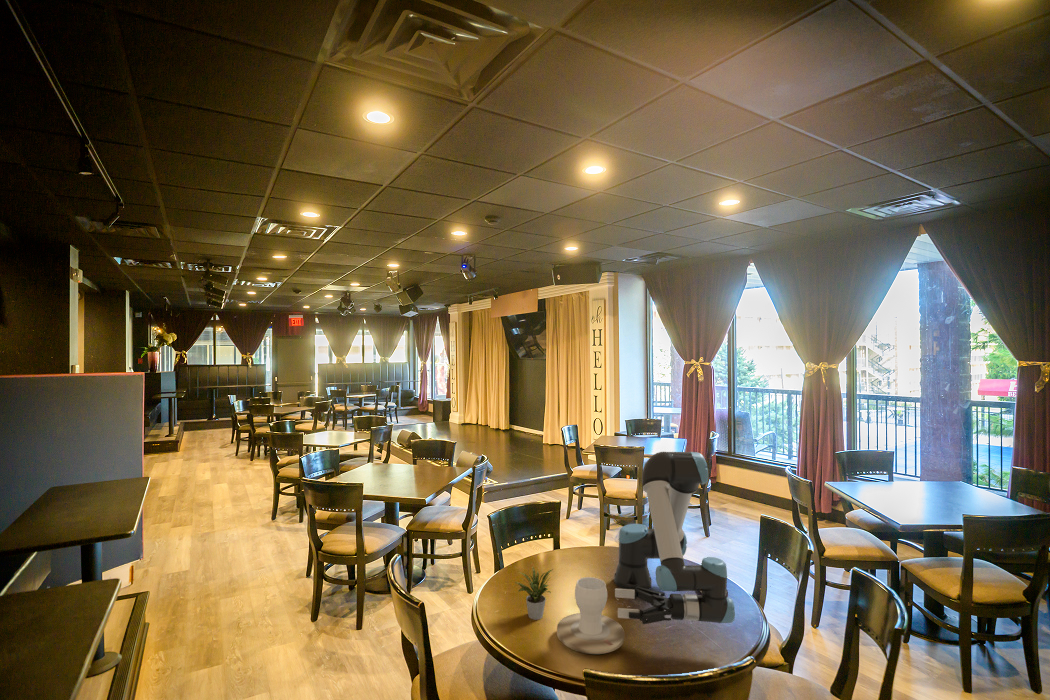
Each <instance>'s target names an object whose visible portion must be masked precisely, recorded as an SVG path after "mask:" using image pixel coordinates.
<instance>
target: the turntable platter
mask: <svg viewBox="0 0 1050 700" xmlns="http://www.w3.org/2000/svg"><path fill="white" fill-rule="evenodd" d="M579 622H580V612H578V613H573V614H569V615H566V616H565V617H563V618H561V619H560V620H559V622H558V623H557V625H556V636H557V638H558V640H559V641H560V642H561V643H562V644H563V645H564V646H565V647H567V648H569V649H571V650H572V651H575V650H576V652H578V651H579V652H578V653H580V652H582V653H581V654H584V653H588V654H587V655H590V654H599V655H602V654H603V653H604V654H608V653H611V652H614V651H616V650H618V649H620V648H621V646H622V645H624V642H625V631H624V628H623V627H622V625H621V623H619V622H618V621H616V620H614V619H613V618H611V617H609V616H606V615H603V614H602V615H601V623H602V632H601V633H600V634H597V635H587V634H584V633H582V632H581V631H580V630H579ZM604 654H603V655H604Z"/></svg>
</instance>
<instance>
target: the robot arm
mask: <svg viewBox="0 0 1050 700" xmlns="http://www.w3.org/2000/svg"><path fill="white" fill-rule="evenodd" d="M708 481H709V469H708V463H707V461H706V459H705V457H704V455H703V454H702V453H700V452H699V451H698V452H696V451H659V452H656V453H653V455H651V456H650V457H649V458H648V459H647V461H646V462H645V464H644V466H643V469H642V472H641V485H642V490H643V491H644V493H646V498H647V501H648V506H649V512H650V516H651V517H650V518H651V521H652V526H653V528H648V526H647V525H645V524H643V523H629V524H625V525H624V526H622V527H621V528H620V530H619V532H618V533H619V534H618V564H617V566H616V567H617V568H616V571H615V573H614V576H613V582H614V584H615V586H616V587H618V588H614V597H615V598H620V599H621V598H622V599H633V600H636V599H639V600H641V601H643V602H646V603H648V604H650V605H651V607H648V608H644V609H640V608H639V609H638V608H625V607H624V608H623V607H617V618H618V619H628V620H629V619H630V620H639V621H640V622H641V624H643V625H647V624H652V623H653V624H654V623H657V622H658V623H659V622H662V621H663V622H664V621H665V622H666V621H671V620H678V621H683V620H685V621H690V622H706V623H716V624H731V623H733V622H734V621H735V616H736V611H735V603H734V601H733V599H732V598H731V597H729V596H726V589H727V586H728V584H727V583H728V571H727V569H728V568H727V564H726V562H725V561H723V560H722V559H721V558H718V557H716V556H715V557H714V556H707V557H703V558H702V559H701V560H702V561H701V563H700V564H699V565H698V564H695V565H691V564H690V565H688V564H687V565H686V564H685V560H684V555H685V554H686V551H687V548H688V547H687V543H688V540H687V539H688V538H687V535H686V533H685V531H684V530H683V526H684V522H685V519H686V515H687V512H688V508H689V506H690V502H691V498H692V495H693V494H695V493H696V492H697V491H698V490H699V487H700V485H702V486H703V485H706V484H707V483H708ZM652 559H654V560H655V559H656V560H658V559H659V561H660V565H658V566H656V568H655V581H656V586H657V587H658V588H659V590H661V591H662V592H661V591H656V590H652V589H651V588H652V583H653V582H652V578H651V574H650V570H649V567H648V560H652ZM727 590H728V589H727ZM700 591H702V593H701V594H700V595H698V594H687V593H685V594H683V595H682V594H681V593H675V592H700ZM665 592H674V593H670V594H669V597H666V595H665Z"/></svg>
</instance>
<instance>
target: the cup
mask: <svg viewBox="0 0 1050 700" xmlns="http://www.w3.org/2000/svg"><path fill="white" fill-rule="evenodd" d="M574 599H575V602H576V605H577V608H578V610H579V613H580V622H579V630H580V631H581V632H582V633H584V634H587V635H597V634H600V633H601V632H602V623H601V615H603V611H604V609H605V607H606V604H607V600H608V590H607V584H606V582H605V580H603V579H600V578H597V577H593V576H592V577H591V576H587V577H586V576H585V577H581V578H579V579H577V581H576V583H575V589H574Z"/></svg>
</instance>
